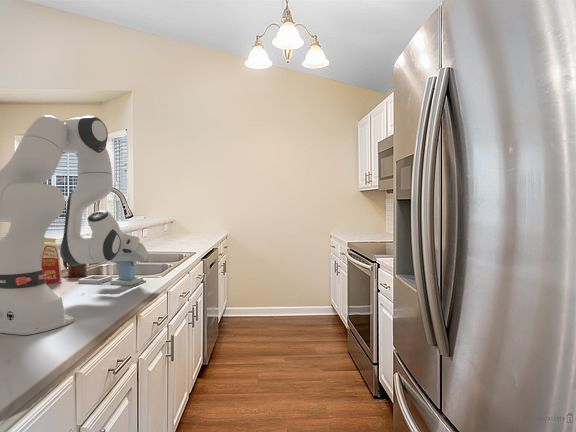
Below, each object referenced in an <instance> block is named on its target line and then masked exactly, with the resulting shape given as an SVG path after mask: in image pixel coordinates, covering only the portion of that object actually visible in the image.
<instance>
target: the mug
mask: <svg viewBox="0 0 576 432" xmlns="http://www.w3.org/2000/svg"><path fill="white" fill-rule="evenodd" d="M62 264H63V267H64V268H65V270H67V276H68V278H85V277H87V275H88V267H87V264H88V263H86V264H81V265H76V266H71V265H69V264H67V263H66V262H65V261H64V260H63V259H62Z"/></svg>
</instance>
